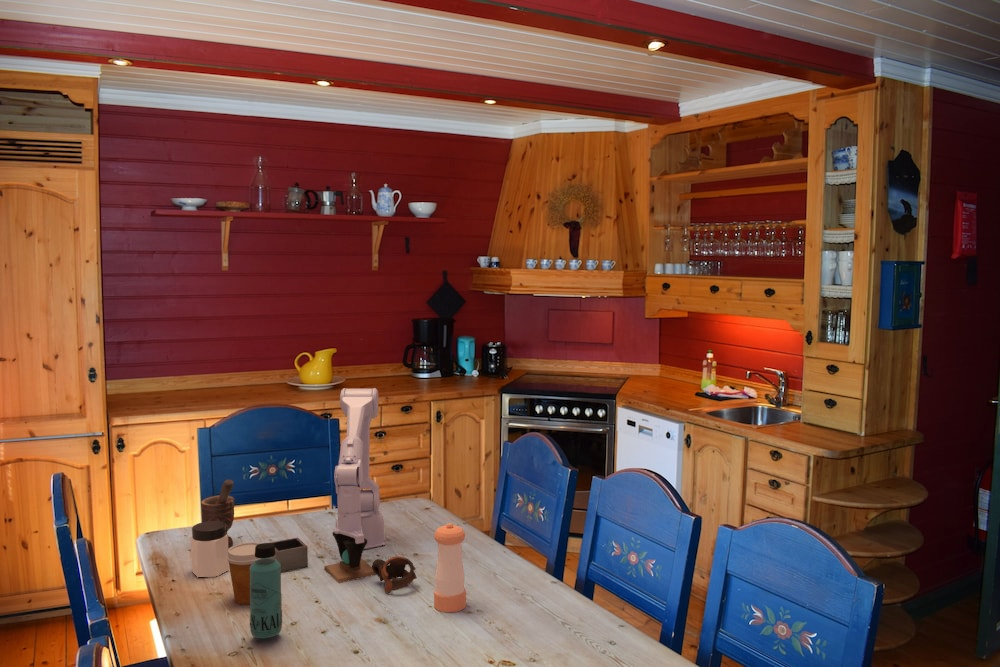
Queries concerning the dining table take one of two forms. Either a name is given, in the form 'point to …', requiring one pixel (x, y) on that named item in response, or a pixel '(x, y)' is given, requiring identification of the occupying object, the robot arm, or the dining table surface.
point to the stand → (349, 571)
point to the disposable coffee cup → (241, 570)
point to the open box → (291, 554)
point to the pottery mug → (394, 572)
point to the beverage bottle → (265, 593)
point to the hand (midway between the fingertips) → (350, 562)
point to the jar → (209, 549)
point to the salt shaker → (449, 569)
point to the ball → (345, 557)
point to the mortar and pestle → (220, 508)
